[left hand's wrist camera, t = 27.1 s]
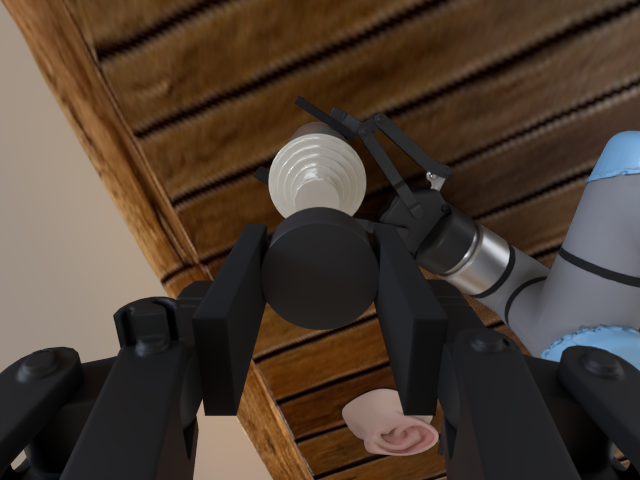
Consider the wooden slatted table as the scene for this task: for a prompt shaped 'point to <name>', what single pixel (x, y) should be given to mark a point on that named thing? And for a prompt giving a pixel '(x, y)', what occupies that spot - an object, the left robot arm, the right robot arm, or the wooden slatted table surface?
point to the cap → (320, 269)
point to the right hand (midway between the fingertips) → (276, 136)
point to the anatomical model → (388, 424)
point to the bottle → (317, 172)
